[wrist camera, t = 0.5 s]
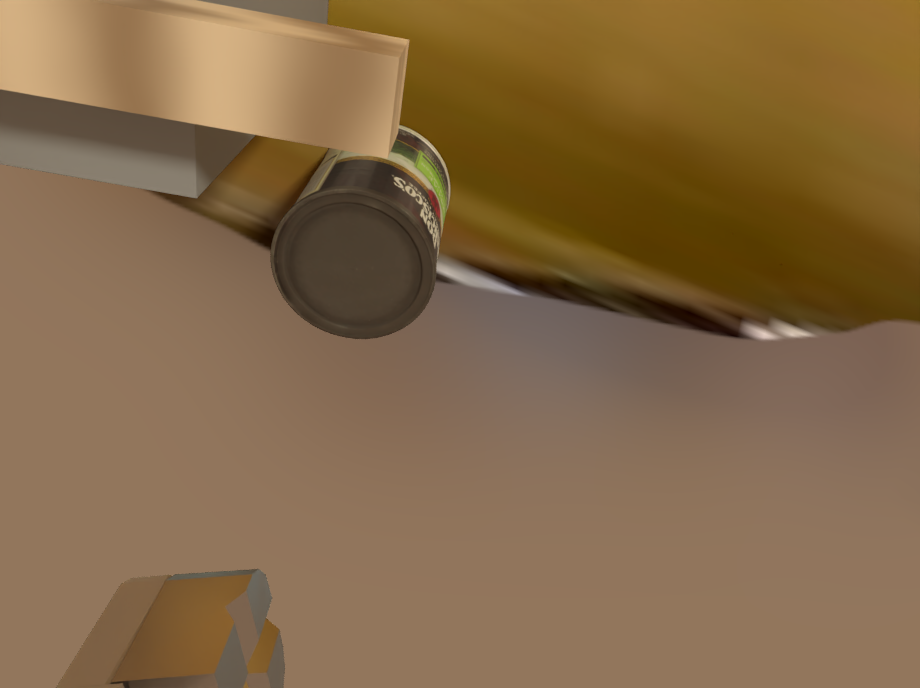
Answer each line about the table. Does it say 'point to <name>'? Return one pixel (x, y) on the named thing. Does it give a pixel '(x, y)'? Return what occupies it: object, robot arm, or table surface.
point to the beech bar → (210, 68)
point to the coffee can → (364, 239)
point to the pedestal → (128, 132)
